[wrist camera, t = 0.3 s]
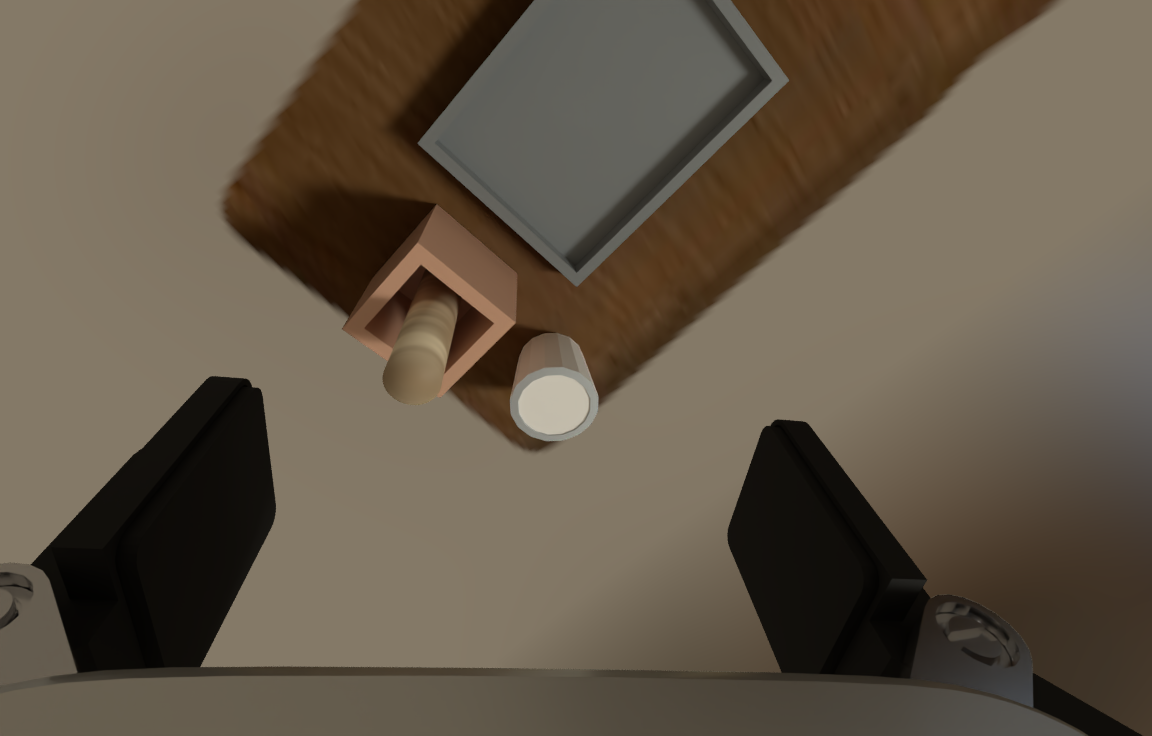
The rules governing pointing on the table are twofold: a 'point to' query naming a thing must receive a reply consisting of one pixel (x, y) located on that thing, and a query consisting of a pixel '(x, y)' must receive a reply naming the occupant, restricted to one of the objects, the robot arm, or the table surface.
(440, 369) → the dowel
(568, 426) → the cream short cylinder
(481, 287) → the holder
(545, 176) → the tray
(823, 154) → the table surface
